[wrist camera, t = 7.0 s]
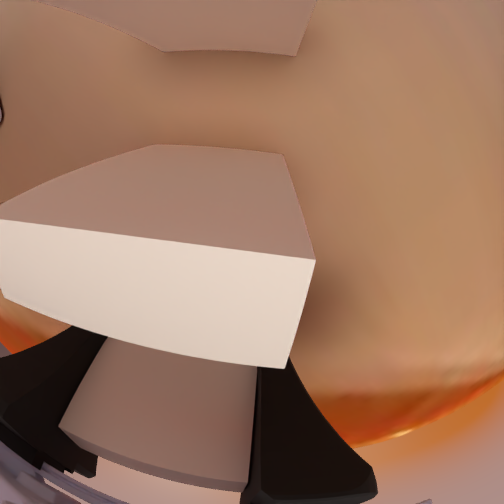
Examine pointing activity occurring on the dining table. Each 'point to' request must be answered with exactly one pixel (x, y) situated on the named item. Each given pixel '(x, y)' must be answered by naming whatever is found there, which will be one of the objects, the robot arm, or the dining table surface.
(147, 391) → the tile
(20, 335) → the dining table surface
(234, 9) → the tile
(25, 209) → the tile
